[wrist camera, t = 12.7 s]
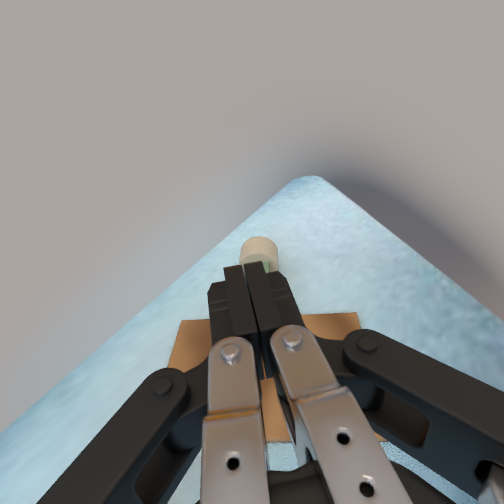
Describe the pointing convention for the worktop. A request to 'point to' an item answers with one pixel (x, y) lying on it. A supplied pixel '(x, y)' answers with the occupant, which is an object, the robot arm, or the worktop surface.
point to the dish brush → (260, 253)
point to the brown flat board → (199, 345)
